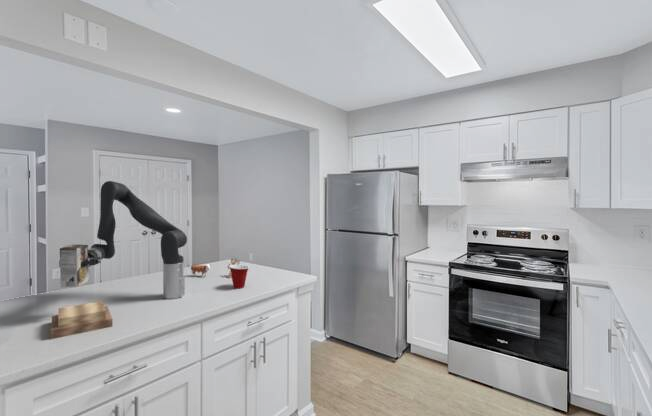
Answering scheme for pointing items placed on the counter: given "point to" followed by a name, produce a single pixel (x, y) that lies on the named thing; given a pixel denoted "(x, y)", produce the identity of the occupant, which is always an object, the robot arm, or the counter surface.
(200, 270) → the bull figurine
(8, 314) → the counter surface
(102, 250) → the robot arm
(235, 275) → the plastic cup
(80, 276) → the coffee box
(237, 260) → the tan wooden handled piece
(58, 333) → the plinth
